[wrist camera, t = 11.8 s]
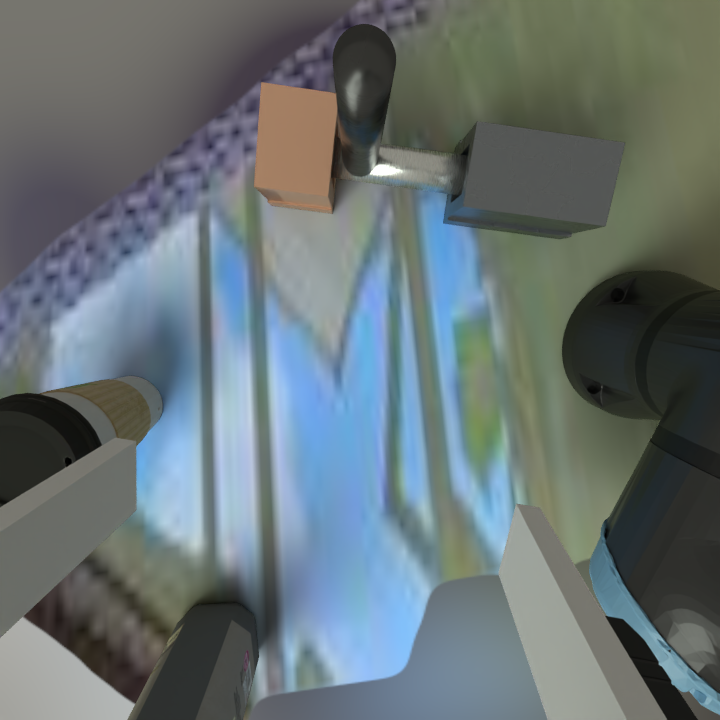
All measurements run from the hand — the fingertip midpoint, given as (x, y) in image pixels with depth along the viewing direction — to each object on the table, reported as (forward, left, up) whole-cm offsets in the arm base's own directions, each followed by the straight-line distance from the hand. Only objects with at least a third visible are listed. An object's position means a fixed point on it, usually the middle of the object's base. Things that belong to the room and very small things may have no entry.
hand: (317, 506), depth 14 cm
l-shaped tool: (-4, -18, -27) cm, 32 cm away
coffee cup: (+22, +8, -29) cm, 37 cm away
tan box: (+6, -18, -29) cm, 34 cm away
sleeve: (-14, -18, -29) cm, 37 cm away
